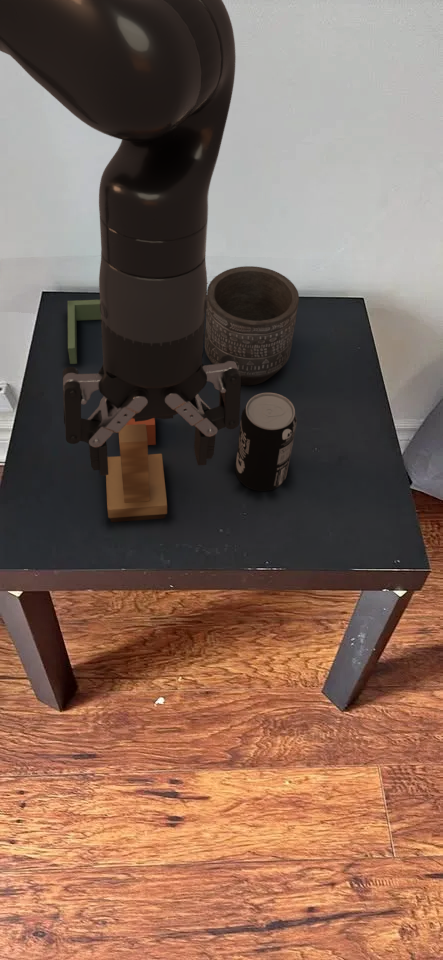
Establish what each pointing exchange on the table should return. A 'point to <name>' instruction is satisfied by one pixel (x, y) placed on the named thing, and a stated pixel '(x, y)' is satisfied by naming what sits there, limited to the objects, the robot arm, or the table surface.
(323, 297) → the table surface
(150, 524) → the table surface
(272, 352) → the planter
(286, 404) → the beverage can
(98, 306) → the corral
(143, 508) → the stamp
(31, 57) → the robot arm
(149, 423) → the red cube
